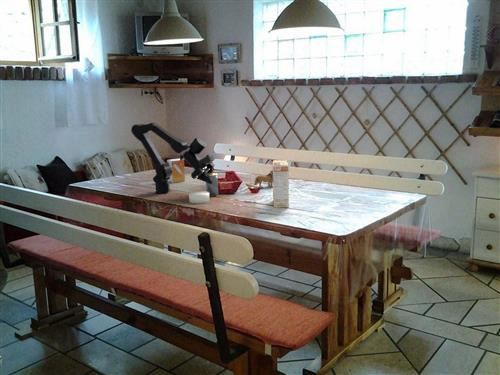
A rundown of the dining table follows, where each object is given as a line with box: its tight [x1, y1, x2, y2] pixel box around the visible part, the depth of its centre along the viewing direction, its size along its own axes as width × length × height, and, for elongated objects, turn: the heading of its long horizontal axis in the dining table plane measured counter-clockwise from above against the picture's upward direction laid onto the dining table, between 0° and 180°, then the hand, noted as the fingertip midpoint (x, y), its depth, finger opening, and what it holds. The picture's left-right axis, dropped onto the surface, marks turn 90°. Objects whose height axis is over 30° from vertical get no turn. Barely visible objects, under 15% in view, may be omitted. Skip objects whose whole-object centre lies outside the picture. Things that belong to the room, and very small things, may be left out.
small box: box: [166, 158, 186, 184], centre depth 289 cm, size 8×6×13 cm
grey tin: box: [205, 172, 219, 197], centre depth 251 cm, size 6×6×11 cm
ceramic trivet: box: [188, 190, 211, 204], centre depth 240 cm, size 10×10×4 cm
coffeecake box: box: [272, 159, 290, 208], centre depth 229 cm, size 15×7×20 cm, turn 178°
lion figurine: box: [254, 169, 273, 189], centre depth 268 cm, size 15×5×9 cm, turn 117°
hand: (214, 182), depth 251 cm, fingers closed on grey tin, 6 cm apart
